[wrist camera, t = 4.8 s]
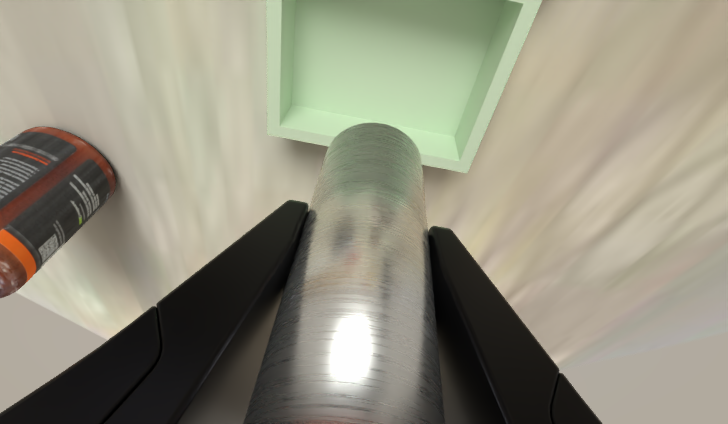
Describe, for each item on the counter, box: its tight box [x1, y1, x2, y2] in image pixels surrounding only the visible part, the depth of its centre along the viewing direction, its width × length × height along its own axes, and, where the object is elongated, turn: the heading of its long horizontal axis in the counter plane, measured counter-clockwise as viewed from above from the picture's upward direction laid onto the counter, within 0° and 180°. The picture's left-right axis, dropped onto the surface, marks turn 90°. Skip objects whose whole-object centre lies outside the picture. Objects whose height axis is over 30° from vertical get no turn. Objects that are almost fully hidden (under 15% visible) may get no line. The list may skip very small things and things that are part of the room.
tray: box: [266, 0, 542, 173], centre depth 17 cm, size 10×8×3 cm
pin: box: [243, 123, 445, 424], centre depth 7 cm, size 4×4×8 cm
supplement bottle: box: [0, 127, 116, 298], centre depth 20 cm, size 6×6×11 cm
